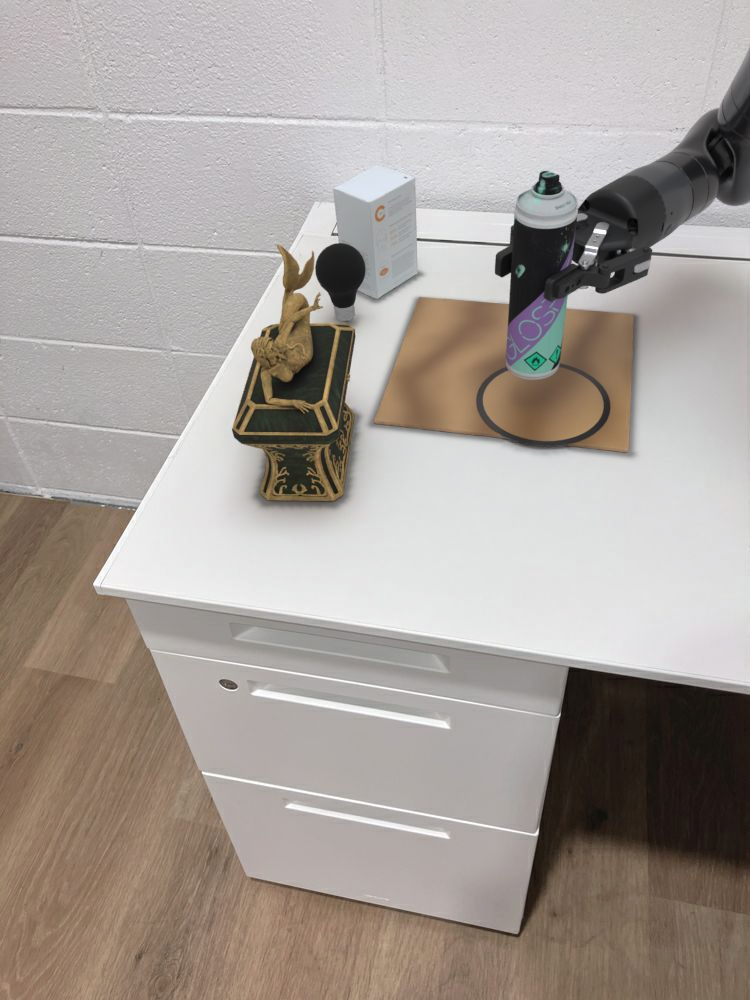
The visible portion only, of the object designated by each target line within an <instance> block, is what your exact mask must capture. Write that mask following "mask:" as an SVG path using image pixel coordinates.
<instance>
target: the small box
mask: <svg viewBox="0 0 750 1000" xmlns="http://www.w3.org/2000/svg"><path fill="white" fill-rule="evenodd" d="M332 191H333V192H332V193H333V200H334V209H335V218H336V229H337V237H338V243H344V244H348V245H351V246H353V247H354V248H355V249H357V250H358V251H359V252H360V254H361V255H362V257H363V259H364V262H365V268H366V271H365V277H364V280H363V282H362V284H361V285H360V287H359V288H358V290H357V292H360V293H362V294H365V295H366V296H369V297H370V298H373V299H375V300H378V299H380V298H381V297H383V296H384V295H386V294H387V293H389V292H391V291H392V290H393V289H395V288H397V287H398V286H400V285H402V284H403V283H404V282H406V281H408V280H409V279H411V278H413V277H415V276H416V275H417V274H419V268H418V267H419V266H418V264H419V263H418V236H417V235H418V234H417V233H418V232H417V231H418V229H417V197H416V177H415V176H412V175H410V174H407V173H404V172H402V171H400V170H396V169H392V168H390V167H387V166H384V165H381V164H376V165H374V166H372V167H370V168H369V169H367V170H365V171H363V172H362V173H359V174H357V175H356V176H354V177H352V178H350V179H348V180H346V181H344V182H342V183H340V184H338V185H337V186H334V187H333V188H332Z"/></svg>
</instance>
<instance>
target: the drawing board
mask: <svg viewBox="0 0 750 1000" xmlns="http://www.w3.org/2000/svg"><path fill="white" fill-rule="evenodd" d="M417 299H418V300H417V301H416V305H415V307H414V311H413V313H412V315H411V319H410V321H409V323H408V327H407V329H406V332H405V335H404V338H403V341H402V343H401V346H400V349H399V351H398V354H397V357H396V359H395V363H394V365H393V368H392V371H391V374H390V376H389V379H388V381H387V384H386V387H385V390H384V393H383V394H382V395H383V396H382V398H381V401H380V403H379V406H378V409H377V412H376V414H375V417H374V420H373V422H374V424H375V425H376V424H377V425H384V426H385V425H386V426H393V427H394V426H395V427H403V428H409V429H419V430H420V429H421V430H429V431H437V432H444V433H445V432H446V433H455V434H465V435H472V436H481V437H489V438H490V437H491V438H496V439H497V438H498V439H506V440H511V441H514V442H515V443H519V444H523V445H527V446H535V447H562V446H568V447H576V448H583V449H585V448H586V449H592V450H593V449H595V450H603V451H609V452H610V451H611V452H620V453H629V451H630V450H629V449H630V428H631V427H630V424H631V400H632V376H633V375H632V374H633V353H634V352H633V351H634V349H633V348H634V328H635V327H634V326H635V323H634V322H635V314H634V313H627V312H626V313H625V312H614V311H613V312H612V311H598V310H590V309H589V310H586V309H575V308H566V314H565V323H564V331H563V339H562V348H561V356H560V363H559V368H558V370H557V371H556V372H555V373H554V374H553V375H551V376H549V377H547V378H544V379H538V380H529V379H523V378H520V377H517V376H515V375H514V374H512V373H511V372H510V371H509V370H508V368H507V366H506V348H507V331H508V314H509V303H500V302H488V301H478V300H477V301H475V300H464V299H463V300H462V299H451V298H450V299H449V298H438V297H426V296H425V297H424V296H419V297H418V298H417Z"/></svg>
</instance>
